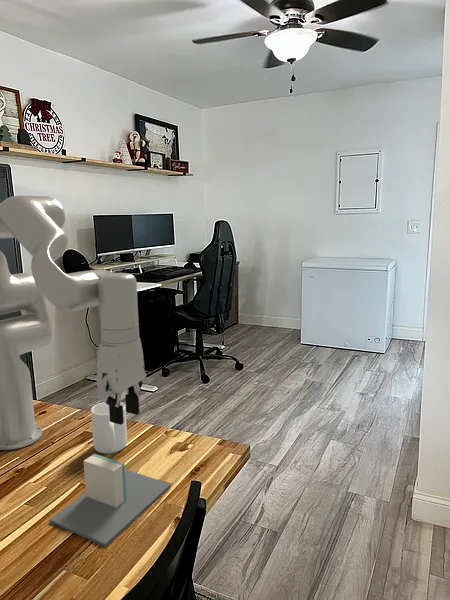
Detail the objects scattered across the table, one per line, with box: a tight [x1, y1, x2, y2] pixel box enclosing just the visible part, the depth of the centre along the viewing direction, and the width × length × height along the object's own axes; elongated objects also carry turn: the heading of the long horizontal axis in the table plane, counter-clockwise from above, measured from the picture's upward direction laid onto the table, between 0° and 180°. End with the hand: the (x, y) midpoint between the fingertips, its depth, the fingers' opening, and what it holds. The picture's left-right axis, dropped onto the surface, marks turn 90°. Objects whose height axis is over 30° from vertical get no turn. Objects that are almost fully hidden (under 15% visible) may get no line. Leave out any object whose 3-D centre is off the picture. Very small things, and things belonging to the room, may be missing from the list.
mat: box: [49, 468, 172, 547], centre depth 92 cm, size 14×20×1 cm
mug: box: [90, 401, 128, 455], centre depth 112 cm, size 12×8×10 cm
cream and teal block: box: [83, 453, 126, 508], centre depth 92 cm, size 8×3×8 cm, turn 62°
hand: (124, 417), depth 96 cm, fingers open, 4 cm apart
